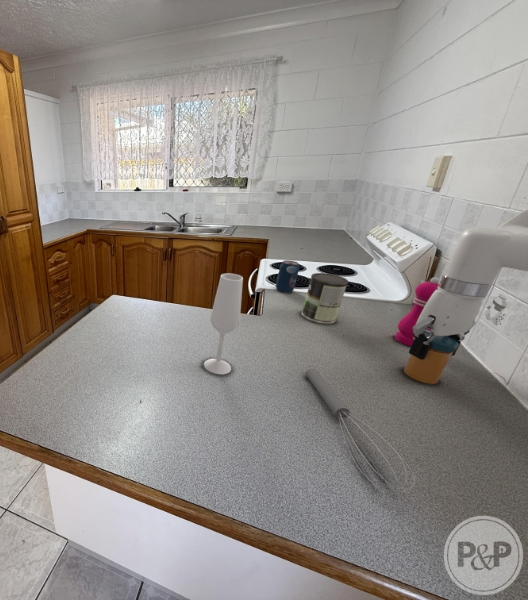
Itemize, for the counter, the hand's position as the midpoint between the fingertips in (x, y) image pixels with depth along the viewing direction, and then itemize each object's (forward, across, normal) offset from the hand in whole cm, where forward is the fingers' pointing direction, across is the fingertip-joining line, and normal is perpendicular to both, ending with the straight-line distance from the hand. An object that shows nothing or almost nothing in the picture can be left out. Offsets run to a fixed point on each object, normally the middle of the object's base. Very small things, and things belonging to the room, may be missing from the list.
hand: (431, 354), depth 74 cm
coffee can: (+6, +1, -33) cm, 33 cm away
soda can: (+6, -4, -57) cm, 57 cm away
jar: (+6, 0, 0) cm, 6 cm away
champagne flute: (+6, +48, -13) cm, 50 cm away
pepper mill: (+6, -14, -14) cm, 21 cm away
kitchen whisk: (+6, +33, +10) cm, 35 cm away
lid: (-4, 0, 0) cm, 4 cm away
